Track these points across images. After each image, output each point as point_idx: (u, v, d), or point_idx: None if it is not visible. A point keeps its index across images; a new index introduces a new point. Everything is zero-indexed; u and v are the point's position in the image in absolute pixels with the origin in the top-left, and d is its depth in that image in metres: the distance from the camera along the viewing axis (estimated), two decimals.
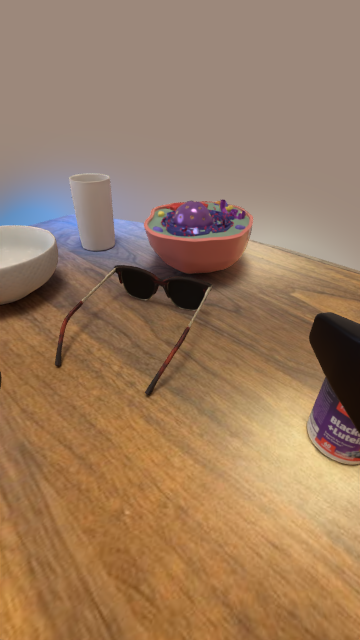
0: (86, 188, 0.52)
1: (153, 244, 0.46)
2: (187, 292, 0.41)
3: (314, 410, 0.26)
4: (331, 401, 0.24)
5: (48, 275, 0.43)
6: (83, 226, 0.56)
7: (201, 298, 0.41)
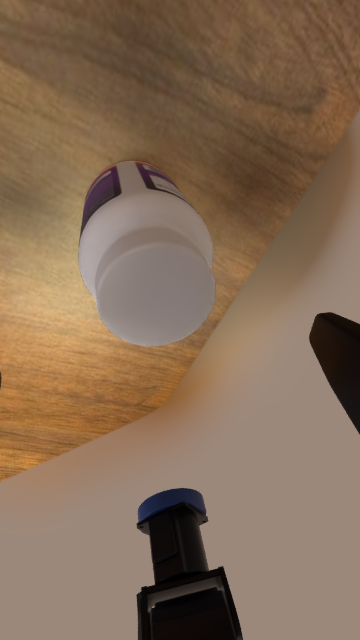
0: None
1: None
2: None
3: None
4: None
5: None
6: None
7: None
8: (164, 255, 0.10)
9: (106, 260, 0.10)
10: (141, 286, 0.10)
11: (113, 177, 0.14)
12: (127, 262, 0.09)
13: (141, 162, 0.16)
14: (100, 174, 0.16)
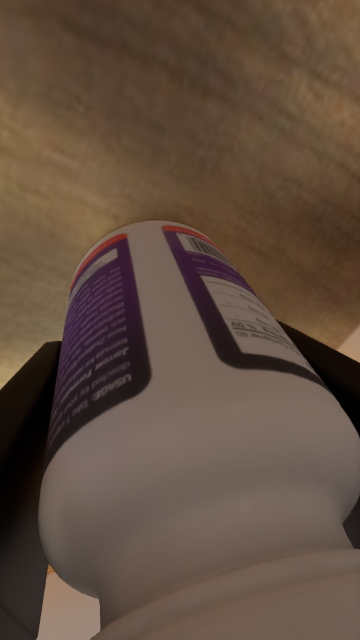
0: None
1: None
2: None
3: None
4: None
5: None
6: None
7: None
8: None
9: None
10: None
11: (123, 279, 0.07)
12: None
13: (172, 226, 0.09)
14: (97, 250, 0.08)
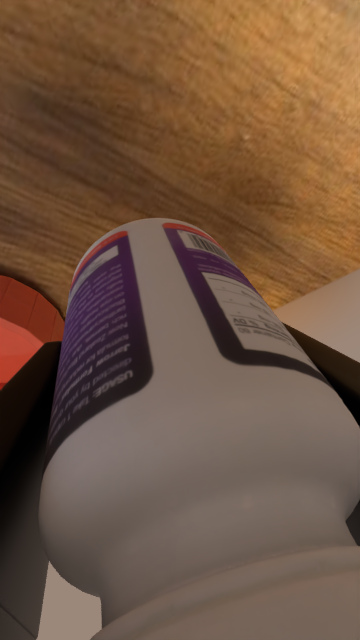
0: None
1: None
2: None
3: None
4: None
5: None
6: None
7: None
8: None
9: None
10: None
11: (124, 275, 0.06)
12: None
13: (173, 223, 0.09)
14: (97, 248, 0.08)
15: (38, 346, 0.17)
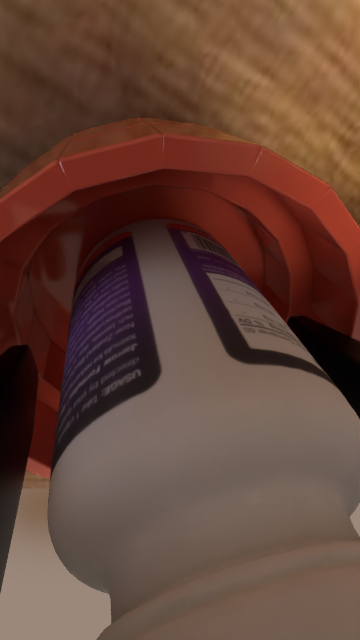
0: None
1: None
2: None
3: None
4: None
5: None
6: None
7: None
8: None
9: None
10: None
11: (130, 276, 0.07)
12: None
13: (176, 224, 0.09)
14: (102, 248, 0.08)
15: None
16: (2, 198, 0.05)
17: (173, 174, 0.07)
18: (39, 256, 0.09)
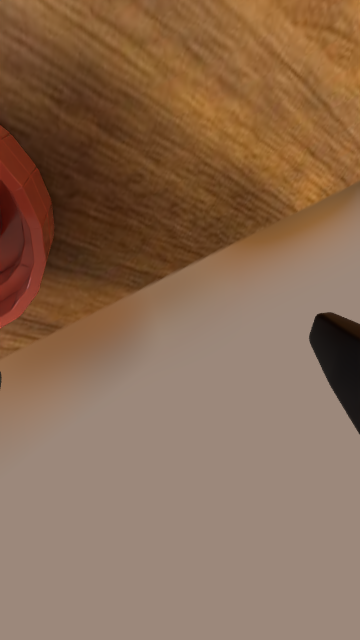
0: None
1: None
2: None
3: None
4: None
5: None
6: None
7: None
8: None
9: None
10: None
11: None
12: None
13: None
14: None
15: (7, 181, 0.12)
16: None
17: None
18: None
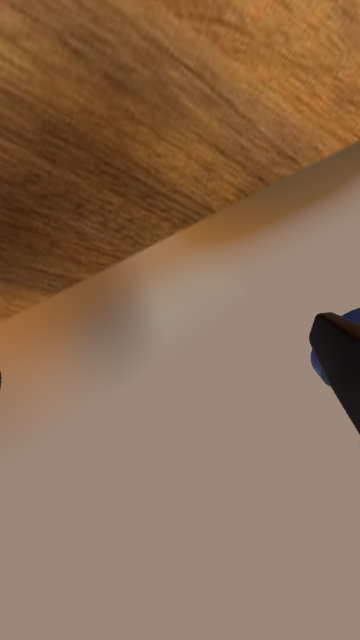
0: None
1: None
2: None
3: None
4: None
5: None
6: None
7: None
8: None
9: None
10: None
11: None
12: None
13: None
14: None
15: None
16: None
17: None
18: None
